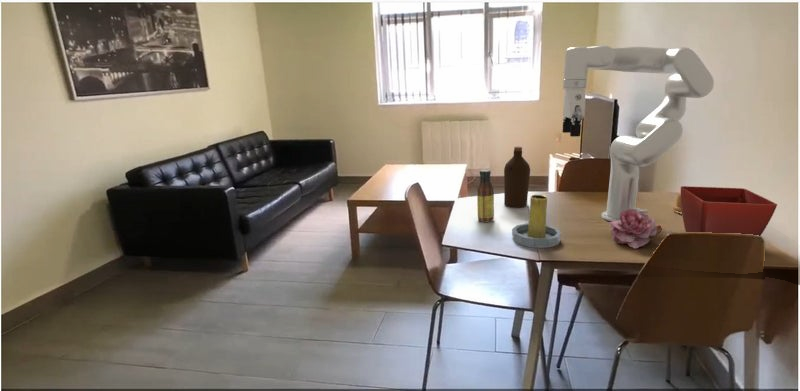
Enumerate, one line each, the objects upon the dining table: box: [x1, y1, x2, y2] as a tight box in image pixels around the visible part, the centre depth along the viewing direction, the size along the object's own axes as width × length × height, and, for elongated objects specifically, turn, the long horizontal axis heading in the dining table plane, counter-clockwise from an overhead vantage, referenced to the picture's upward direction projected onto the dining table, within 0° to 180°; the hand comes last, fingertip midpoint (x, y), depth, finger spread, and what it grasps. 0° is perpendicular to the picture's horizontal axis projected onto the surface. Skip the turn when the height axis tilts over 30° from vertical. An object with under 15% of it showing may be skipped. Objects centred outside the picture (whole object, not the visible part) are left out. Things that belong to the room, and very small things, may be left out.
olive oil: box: [503, 146, 531, 209], centre depth 184 cm, size 11×11×25 cm
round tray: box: [511, 222, 562, 249], centre depth 149 cm, size 15×15×3 cm
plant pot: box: [680, 185, 778, 237], centre depth 138 cm, size 19×19×17 cm
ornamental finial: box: [672, 193, 682, 212], centre depth 170 cm, size 8×8×8 cm
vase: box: [527, 194, 548, 238], centre depth 147 cm, size 6×6×14 cm
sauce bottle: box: [476, 168, 495, 223], centre depth 167 cm, size 7×6×20 cm
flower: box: [608, 209, 663, 249], centre depth 144 cm, size 15×15×10 cm
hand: (570, 134), depth 155 cm, fingers open, 9 cm apart
